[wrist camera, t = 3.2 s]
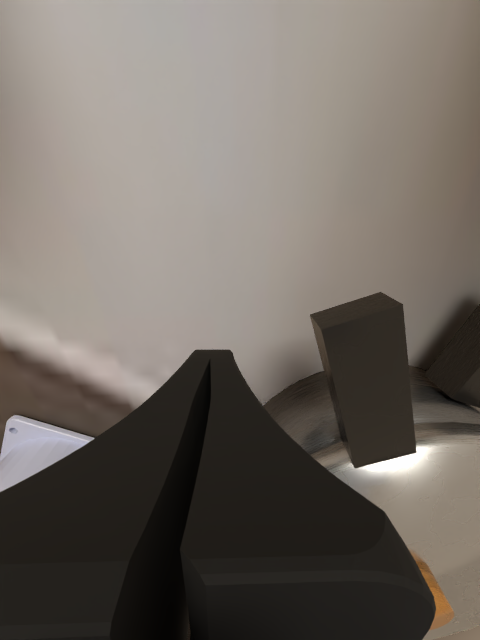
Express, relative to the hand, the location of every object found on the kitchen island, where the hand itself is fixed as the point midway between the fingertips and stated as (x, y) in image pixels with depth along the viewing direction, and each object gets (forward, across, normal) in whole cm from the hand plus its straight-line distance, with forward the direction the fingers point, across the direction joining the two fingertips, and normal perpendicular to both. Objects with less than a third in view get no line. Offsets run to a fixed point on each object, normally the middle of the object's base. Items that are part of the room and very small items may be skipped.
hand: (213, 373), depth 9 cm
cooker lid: (0, -9, +9) cm, 12 cm away
